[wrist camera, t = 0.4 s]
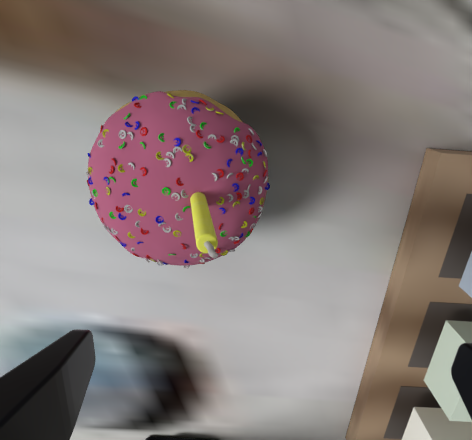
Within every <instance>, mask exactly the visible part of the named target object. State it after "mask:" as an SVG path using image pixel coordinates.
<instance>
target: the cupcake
mask: <svg viewBox="0 0 472 440" xmlns="http://www.w3.org/2000/svg"><path fill="white" fill-rule="evenodd" d="M134 99H135V100H134ZM88 156H89V162H88V172H86V174H87V175H88V180H87V183H88V186H89V189H90V193H91V197H92V198H91V199H90V201H89V203H90V205H94V207H95V209H96V212H97V214H98V216H99V218H100V220H101V222H102V223H103V225H104V227H105V229H106V230H108V231H109V233H110V234H111V235H112V236H113V237H114V238H115V239H116V240H117V241H118V242H119V243H120V244H121V245H122V246H123V247H124V248H125V249H127V250H128V251H129V252H130V253H132V254H133V255H135V256H137V257H141V258H144V259H145V260H147V259H149V260H152V261H154V262H157V264H158V265H164V264H166V265H168V264H170V265H185V266H184V268H185V269H187V268H188V267H189V266H190V265H195V264H205V262H208V261H211V260H213V259H216V258H218V257H220V256H222V255H223V256H224V255H226V254H227V253H228V252H231V251H235V250H233V249H235V248H236V247H237V246H239V245H240V244H241V243H242V242H243V241H244V240H245V239H246V238H247V236H249V235H250V234H251V232H252V230H253V228H254V227H255V225H256V223H257V221H258V219H259V217H260V216H261V214H262V212H261V211H262V210H263V205H264V202H265V198H266V193H267V190H268V189H269V188H270V185H269V183H268V161H267V152H266V150H265V149H264V146H263V144H262V142H261V140H260V138H259V136H258V135H257V133H256V132H255V131H254V129H253V128H252V127H251V126H249V125H248V124H245V123H243V122H242V121H241V120H240V118H239V117H238V116H237V115H236V114H235V113H234V112H233V111H231V110H230V109H229V108H227V107H226V106H224V105H222V104H220V103H218V102H217V101H215V100H213V99H211V98H210V97H208V96H206V95H204V94H201V93H198V92H194V91H187V90H179V91H167V92H161V91H159V92H153V93H149V94H145V95H142V96H140V97H134V98H133V99H132V101H131V102H129V103H127V104H126V105H124V106H122V107H121V108H120V109H118V110H117V111H116V112H115V113H114V114H113V115H111V116H110V117H109V118H108V120H107V121H106V122H105V124H104V125H101V130H100V133H99V135H98V137H97V139H96V141H95V143H94V145H93V147H92V150H91V153H90V154H89V153H88ZM91 202H93V203H91ZM147 261H148V260H147ZM148 262H149V261H148ZM160 263H161V264H160ZM186 265H188V266H186Z"/></svg>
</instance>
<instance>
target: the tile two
mask: <svg viewBox="0 0 472 440" xmlns="http://www.w3.org/2000/svg"><path fill="white" fill-rule="evenodd" d="M463 343H472V322H468V321H450V320H446V322H445V324H444V327H443V330H442V332H441V335H440V338H439V340H438V343H437V346H436V348H435V351H434V354H433V357H432V359H431V362H430V365H429V367H428V370H427V373H426V375H425V378H424V382H425V383H426V385H427V386H428V388H429V389H430V391H431V393H432V394H433V396H434V397H435V399H436V400H437V402H438V403H439V405H440V407H441V408H442V410H443V411H444V413H445V414H446V416H447V417H448V419H449V421H462V422H472V420H471V418H470V416H469V413H468V411H467V409H466V407H465V405H464V403H463V401H462V398H461V396H460V394H459V392H458V390H457V388H456V386H455V383H454V381H453V379H452V375H451V367H452V364H453V361H454V359H455V356H456V353H457V350H458V348H459V346H460V345H461V344H463Z"/></svg>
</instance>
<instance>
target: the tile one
mask: <svg viewBox="0 0 472 440" xmlns="http://www.w3.org/2000/svg"><path fill="white" fill-rule="evenodd" d="M402 440H472V422H462V421H449V419H448V417H447V416H446V414H445V413H444V411H443V410H442V408H428V407H414V408H413V410H412V413H411V416H410V418H409V421H408V424H407V427H406V429H405V432H404V435H403V437H402Z"/></svg>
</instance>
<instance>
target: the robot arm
mask: <svg viewBox="0 0 472 440" xmlns="http://www.w3.org/2000/svg"><path fill="white" fill-rule="evenodd" d="M94 365H95V350H94V342H93V335H92V332H91V331H90V330H72V331H70V332H69V333H67V334H65V335H64V336H62V337H61V338H59V339H58V340H56V341H55V342H53V343H52V344H50V345H49V346H47V347H46V348H44V349H43V350H41V351H40V352H38V353H37V354H35V355H34V356H32V357H31V358H29V359H28V360H26V361H25V362H23V363H22V364H20V365H18V366H17V367H15V368H14V369H12V370H11V371H9V372H8V373H6V374H5V375H3V376H2V377H0V440H69V439H70V437H71V435H72V432H73V429H74V427H75V424H76V421H77V418H78V415H79V412H80V409H81V406H82V403H83V400H84V396H85V393H86V390H87V387H88V384H89V381H90V378H91V375H92V372H93V369H94ZM451 375H452V379H453V381H454V383H455V386H456V388H457V390H458V392H459V394H460V396H461V398H462V401H463V403H464V405H465V407H466V409H467V411H468V413H469V416H470V418H471V420H472V343H463V344H461V345H460V346H459V348H458V350H457V353H456V356H455V359H454V361H453V364H452V367H451ZM146 440H207V439H184V438H161V437H148V438H146Z"/></svg>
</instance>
